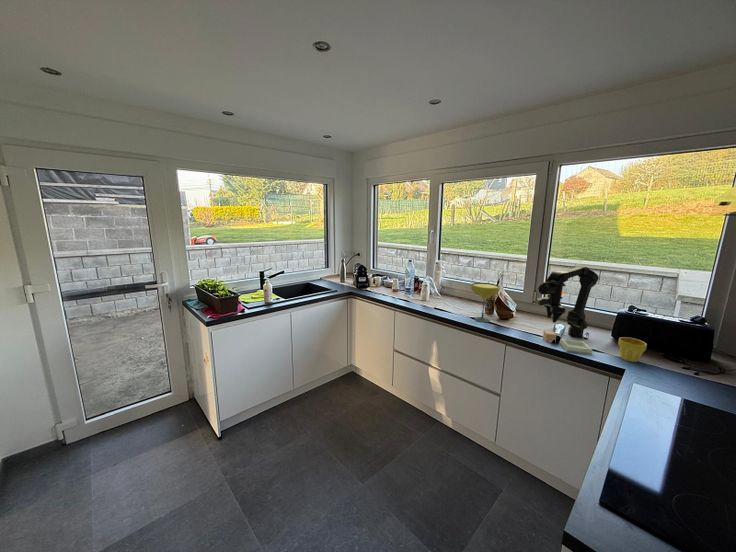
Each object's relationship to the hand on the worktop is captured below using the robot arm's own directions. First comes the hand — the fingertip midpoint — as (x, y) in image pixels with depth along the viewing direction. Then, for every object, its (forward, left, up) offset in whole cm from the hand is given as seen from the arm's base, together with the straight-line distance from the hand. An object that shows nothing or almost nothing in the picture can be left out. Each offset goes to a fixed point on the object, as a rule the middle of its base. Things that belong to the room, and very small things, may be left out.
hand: (551, 320), depth 165 cm
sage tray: (-10, +9, -12) cm, 18 cm away
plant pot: (-32, +14, -13) cm, 37 cm away
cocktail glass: (+34, -26, -13) cm, 44 cm away
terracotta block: (0, 0, -12) cm, 12 cm away
